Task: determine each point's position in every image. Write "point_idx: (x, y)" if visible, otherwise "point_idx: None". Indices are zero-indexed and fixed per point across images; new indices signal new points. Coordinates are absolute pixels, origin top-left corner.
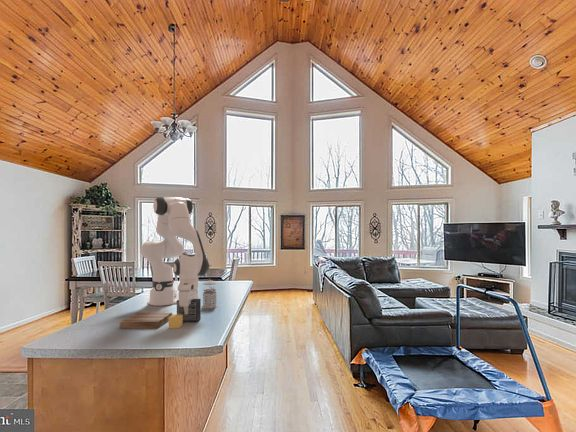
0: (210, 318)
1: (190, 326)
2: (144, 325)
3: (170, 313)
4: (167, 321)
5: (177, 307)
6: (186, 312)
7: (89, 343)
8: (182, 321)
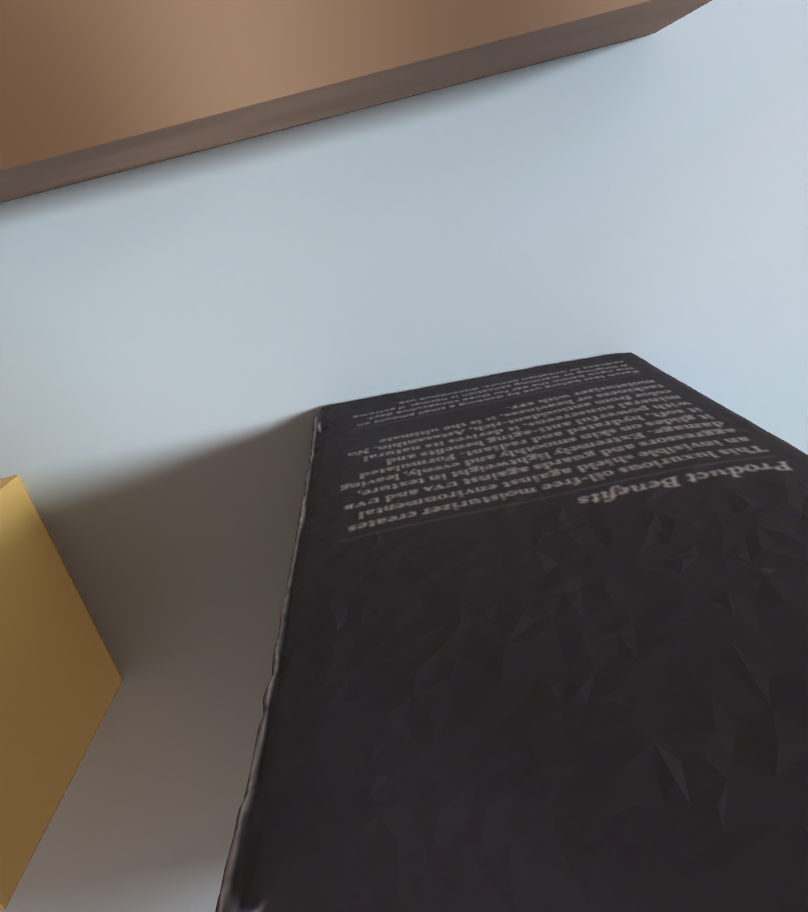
0: None
1: (97, 845)
2: None
3: (586, 5)
4: (250, 137)
5: (276, 695)
6: None
7: None
8: (81, 743)
